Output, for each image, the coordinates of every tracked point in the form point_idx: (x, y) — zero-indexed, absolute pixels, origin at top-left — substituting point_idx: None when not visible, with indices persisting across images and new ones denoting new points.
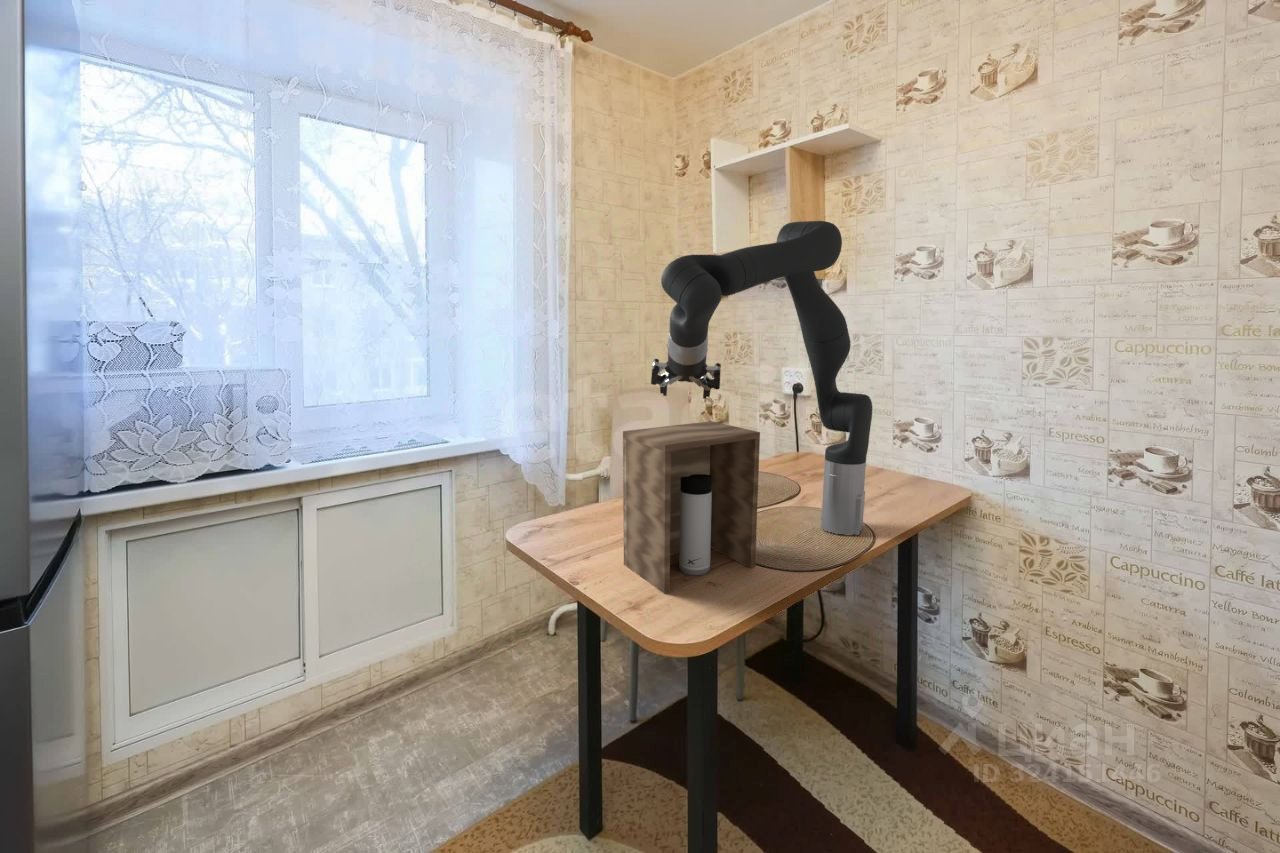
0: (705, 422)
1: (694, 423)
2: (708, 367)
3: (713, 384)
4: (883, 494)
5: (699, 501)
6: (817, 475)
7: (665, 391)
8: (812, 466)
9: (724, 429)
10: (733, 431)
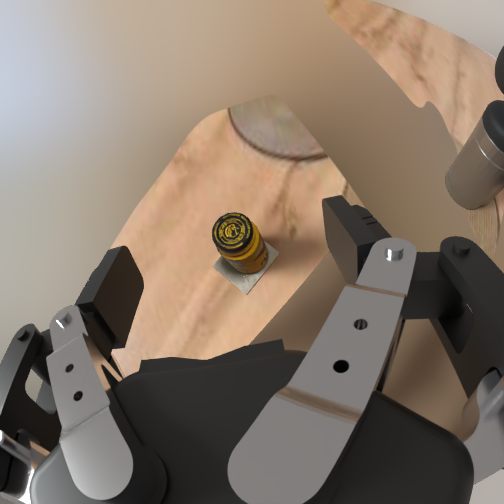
0: (332, 265)
1: (298, 300)
2: (475, 482)
3: (434, 316)
4: (458, 76)
5: None
6: (378, 34)
7: (130, 318)
8: (362, 16)
9: (421, 380)
10: (448, 399)
